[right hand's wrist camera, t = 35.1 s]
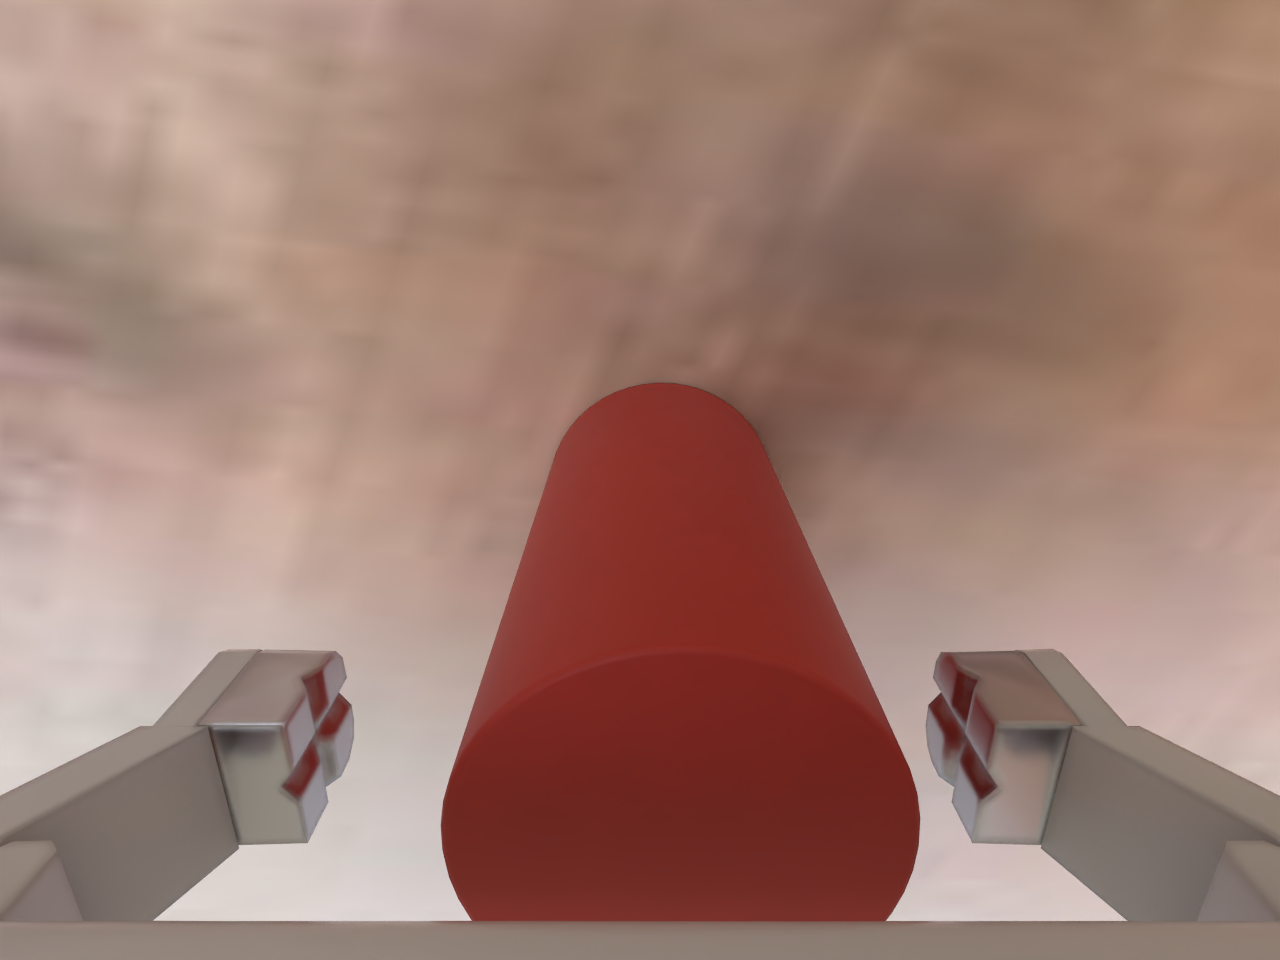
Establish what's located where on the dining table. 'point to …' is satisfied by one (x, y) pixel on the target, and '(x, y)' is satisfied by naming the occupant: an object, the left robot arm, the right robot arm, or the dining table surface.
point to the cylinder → (674, 699)
